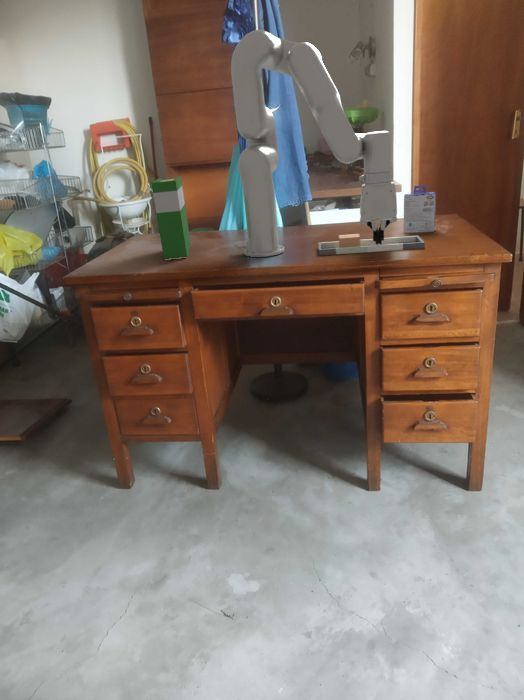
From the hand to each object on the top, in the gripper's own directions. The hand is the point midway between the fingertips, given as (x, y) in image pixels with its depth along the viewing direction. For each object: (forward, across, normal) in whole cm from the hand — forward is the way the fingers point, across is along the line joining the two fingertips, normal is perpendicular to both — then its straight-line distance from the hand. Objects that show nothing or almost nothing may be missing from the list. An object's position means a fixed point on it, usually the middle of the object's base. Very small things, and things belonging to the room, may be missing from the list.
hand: (378, 243), depth 153 cm
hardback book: (+1, -65, +13) cm, 66 cm away
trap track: (+2, -3, 0) cm, 3 cm away
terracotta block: (+1, -8, 0) cm, 9 cm away
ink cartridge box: (+2, +15, +21) cm, 26 cm away
